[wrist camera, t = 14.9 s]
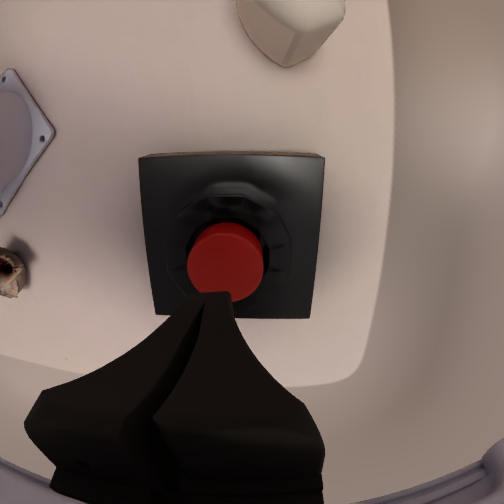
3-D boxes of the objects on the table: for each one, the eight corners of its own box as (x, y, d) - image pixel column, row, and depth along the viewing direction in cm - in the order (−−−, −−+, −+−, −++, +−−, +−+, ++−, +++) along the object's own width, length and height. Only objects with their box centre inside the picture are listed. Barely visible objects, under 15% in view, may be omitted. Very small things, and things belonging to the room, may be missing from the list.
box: (305, 300, 21) (314, 336, 18) (163, 297, 21) (147, 331, 18) (317, 153, 17) (333, 161, 14) (150, 153, 17) (125, 161, 14)
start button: (261, 286, 17) (262, 303, 15) (195, 284, 17) (189, 301, 15) (263, 221, 15) (264, 234, 14) (191, 221, 15) (184, 233, 14)
